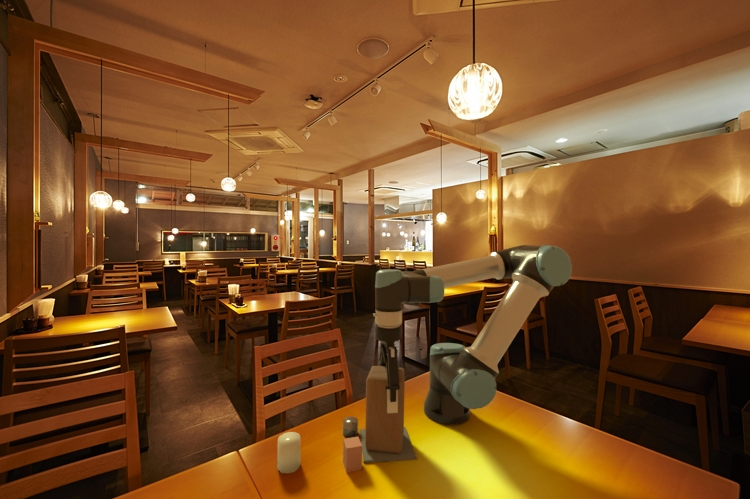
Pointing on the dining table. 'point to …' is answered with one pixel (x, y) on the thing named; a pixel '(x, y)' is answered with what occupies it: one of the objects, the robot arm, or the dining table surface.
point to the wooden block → (383, 413)
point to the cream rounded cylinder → (288, 452)
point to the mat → (378, 456)
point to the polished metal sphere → (350, 427)
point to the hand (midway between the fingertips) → (388, 399)
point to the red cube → (352, 454)
